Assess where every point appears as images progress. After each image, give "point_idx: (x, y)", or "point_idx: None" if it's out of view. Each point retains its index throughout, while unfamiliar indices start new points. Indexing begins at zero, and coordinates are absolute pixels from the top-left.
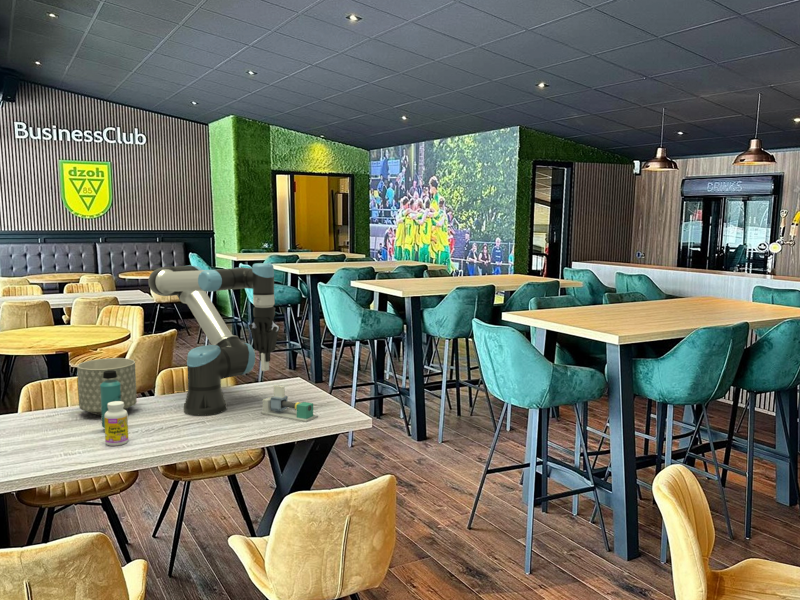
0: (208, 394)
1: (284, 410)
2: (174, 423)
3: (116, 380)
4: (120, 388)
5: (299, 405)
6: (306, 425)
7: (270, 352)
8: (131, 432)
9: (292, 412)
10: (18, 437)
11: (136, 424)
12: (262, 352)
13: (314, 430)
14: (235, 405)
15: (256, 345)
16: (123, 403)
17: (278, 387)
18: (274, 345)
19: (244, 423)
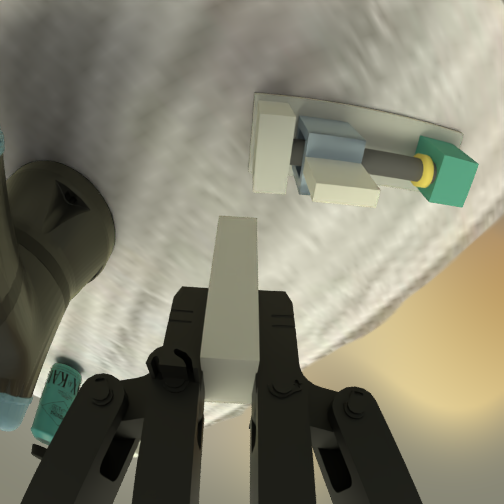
0: (74, 293)
1: (325, 113)
2: (106, 322)
3: (44, 439)
4: (52, 426)
5: (439, 203)
6: (447, 217)
7: (306, 379)
8: (103, 368)
9: (370, 126)
10: (35, 392)
11: (63, 342)
12: (204, 392)
13: (470, 242)
14: (79, 130)
15: (127, 465)
16: (135, 452)
17: (347, 201)
18: (390, 467)
19: (262, 269)
